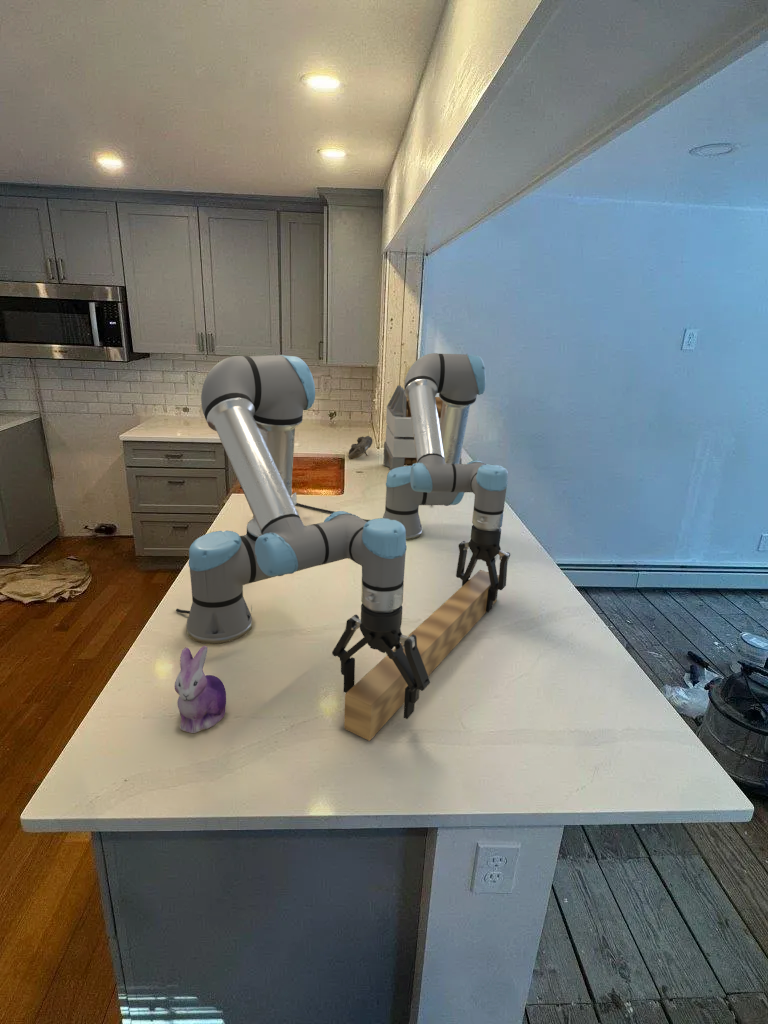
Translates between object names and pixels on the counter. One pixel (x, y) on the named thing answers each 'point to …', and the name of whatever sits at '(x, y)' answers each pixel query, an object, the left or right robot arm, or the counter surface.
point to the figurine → (198, 693)
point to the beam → (435, 640)
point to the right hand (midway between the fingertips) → (477, 606)
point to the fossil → (360, 447)
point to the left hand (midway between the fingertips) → (378, 701)
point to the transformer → (401, 431)
